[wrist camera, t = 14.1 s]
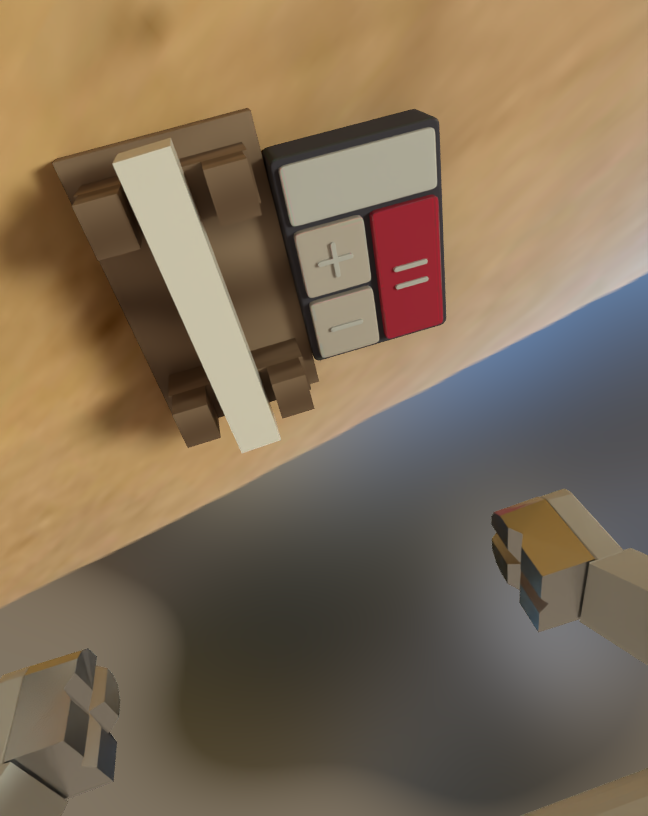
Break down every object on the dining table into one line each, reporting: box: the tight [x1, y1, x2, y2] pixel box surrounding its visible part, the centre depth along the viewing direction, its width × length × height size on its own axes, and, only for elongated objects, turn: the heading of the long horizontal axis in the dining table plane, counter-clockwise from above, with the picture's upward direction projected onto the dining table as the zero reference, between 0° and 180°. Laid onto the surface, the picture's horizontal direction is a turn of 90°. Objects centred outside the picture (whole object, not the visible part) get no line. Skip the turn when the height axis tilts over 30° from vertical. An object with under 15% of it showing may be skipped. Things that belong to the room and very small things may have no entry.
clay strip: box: [112, 138, 281, 453], centre depth 33 cm, size 20×3×3 cm, turn 14°
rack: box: [52, 108, 319, 448], centre depth 35 cm, size 20×12×7 cm, turn 12°
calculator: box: [262, 109, 446, 360], centre depth 38 cm, size 11×4×15 cm
